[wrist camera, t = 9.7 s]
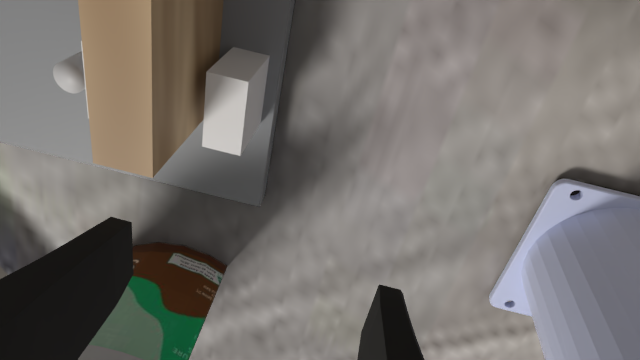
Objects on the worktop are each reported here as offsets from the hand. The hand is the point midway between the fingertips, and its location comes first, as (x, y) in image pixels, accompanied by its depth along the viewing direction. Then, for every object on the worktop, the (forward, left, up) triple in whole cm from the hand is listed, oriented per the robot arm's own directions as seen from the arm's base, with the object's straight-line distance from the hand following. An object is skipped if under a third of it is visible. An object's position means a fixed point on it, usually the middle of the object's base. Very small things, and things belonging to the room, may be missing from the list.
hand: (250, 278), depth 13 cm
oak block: (+5, -6, -8) cm, 11 cm away
